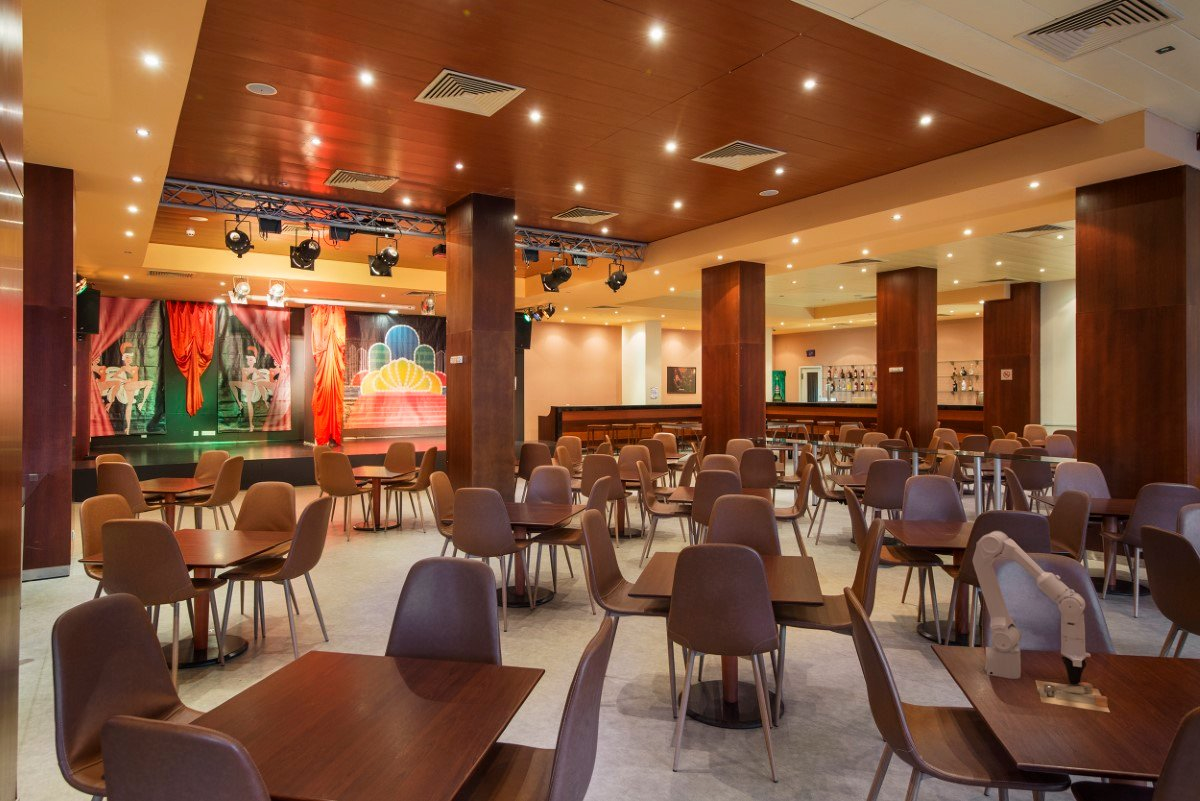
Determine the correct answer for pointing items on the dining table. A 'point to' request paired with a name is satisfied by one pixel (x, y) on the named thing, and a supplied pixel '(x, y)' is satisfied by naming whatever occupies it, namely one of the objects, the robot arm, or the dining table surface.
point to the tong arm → (1075, 688)
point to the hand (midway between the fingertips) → (1074, 684)
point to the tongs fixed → (1073, 696)
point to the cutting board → (1069, 703)
